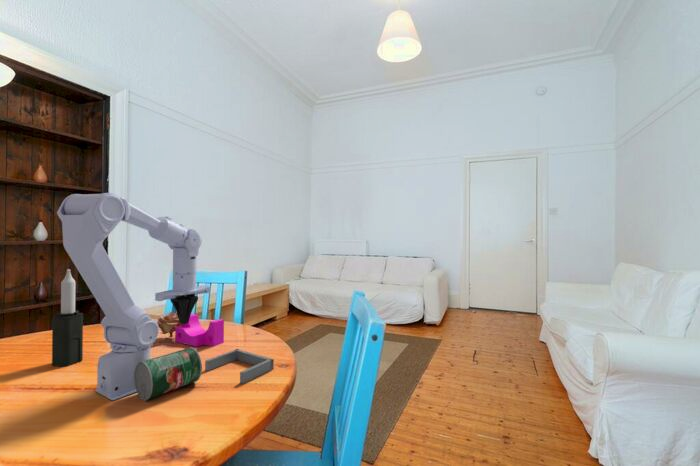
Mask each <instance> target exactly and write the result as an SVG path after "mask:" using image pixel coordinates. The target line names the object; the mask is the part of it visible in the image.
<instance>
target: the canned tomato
mask: <svg viewBox="0 0 700 466" xmlns="http://www.w3.org/2000/svg"><path fill="white" fill-rule="evenodd" d="M202 372H203V363H202V359H201V356H200V353H199V352H198V351H197V349H196V348H194V347H193V346H191V347H187V348H186V349H181V350H178V351H174V352H171V353H167V354H164V355H160V356H155V357H153V358H150V359H149V360H146V361H143V362H139V363H138V364H137V366H136V368H135V375H134V379H135V387H136V390H137V392H136V393H137V395H138V397H139V399H141V400H142V401H148V400H150V399H154V398H156V397H158V396H161V395H164V394H166V393H168V392H171V391H174V390H177V389H179V388H182V387H185V386H187V385H190V384H192V383H196V382H198V381H199V380H200V379H201V376H202Z"/></svg>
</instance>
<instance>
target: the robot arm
mask: <svg viewBox="0 0 700 466" xmlns="http://www.w3.org/2000/svg"><path fill="white" fill-rule="evenodd" d="M56 214H57V216H58V218H59V219H60V221H61V227H62V243H63V244H62V245H63V248H64V250H65V251H66V253H67V255H68V256H69V258H70V260H71V261H72V263H73V264H74V266H75V268H76V269H77V271H78V273H79V274H80V276H81V277H82V280H83V281H84V282H85V284H86V286H87V288H88V290H90V293H91V294H92V295H93V297H94V299H95V300H96V302H97V303H98V305H99V307H100V309H101V310H102V312H103V313H104V317H103V319H102V320H101V321H100V324H101V326H102V327H103V336H104V339H105V341H106V342H107V343H108V344H110V349H112V350H110V351H109V352H108V353H105V354H103V355H101V356H99V358H98V361H97V372H96V373H97V375H96V376H97V379H96V382H97V383H96V384H97V385H96V386H97V388H95V392H97V394H100V395H102V396H104V397H105V398H107V399H109V400H111V401H116V400H118V399H121V398H124V397H126V396H129V395H131V394H134V393H137V390H136V387H135V379H134V375H135V368H136V366H137V364H138V363H139V362H143V361H146V360H149V359H151V347H153V346H154V343H155V342H156V341H157V338H158V336H159V334H160V328H159V326H158V323H157V322H158V321H157V320H156V319H154V318H152V317H151V316H150V315H149V313H148V312H147V311H145V310H144V309H142V308H141V307H140V306H138V305H136V304H135V303H134V300H133V299H132V297H131V295H130V293H129V292H128V290H127V289H128V288H127V287H126V286H125V284H124V282H123V280H122V279H121V277H120V275H119V272H117V269H116V268H115V266H114V263H113V262H112V260H111V258H110V256H109V255H108V253H107V251H106V249H105V247H104V245H103V243H104V241H105V239H106V238H107V237H108V236H109V235H110V234H111V233H112V232H113V231H114V229H115V228H116V227H117V226H118V224H120V222H121V221H122V222H125V223H127V224H129V225H133V226H135V227H138V228H141V229H143V230H146V231H148V235H149V237H151V238H152V239H154V240H156V241H159V242H161V243H164V244H166V245H167V246H168V247H169V248H170V250H172V289H168V290H165V291H160V292H155V295H154V296H155V299H154V300H155V302H163V301H166V300H170V302H171V304H172V305H173V307H174V309H175V311H176V313H177V315H178V318H179V322H180V323H181V324H187V323H189V319H190V315H191V314H192V312H193V309H194V308H195V305H197V302H198V300H199V296H198V295H202V294H203V295H204V294H210V293H211V286H210V285H200V286H198V285H197V256H198V255H199V250H200V247H201V246H202V242H203V241H202V240H203V239H201V238H202V237H201V235H200V233H199V232H198V231H197V230H195V229H193V228H192V229H190V228H189V229H188V228H186V227H185V225H183V224H178V223H177V222H174V221H173V220H172V218H171V217H169V216H160V217H159V216H158V217H154V216H153V215H151V214H149V213H147V212H146V211H144V210H142V209H140V208H139V207H137V206H135V205H134V204H131V203H130V202H129V201H128V200H127V199H126V198H123V197H119V196H118V195H116V194H115V193H112V192H104V193H91V194H90V193H88V194H86V193H85V194H84V193H83V194H81V193H73V194H70V195H68V196H66V197H65V198H64V199H63V200H62V202H61V205H60V206H59V208H58V210H57V211H56Z"/></svg>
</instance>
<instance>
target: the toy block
mask: <svg viewBox="0 0 700 466" xmlns="http://www.w3.org/2000/svg"><path fill="white" fill-rule="evenodd" d="M201 324H202V323H200V319H199V315H198V314H194V313H191V315H190V319H189V323H187V324H183V325H182V326H181V327H176V328H175V331H174V333H175V335H174V336H175V341H174V342H176V343H180V344H185V345H188V346H191V347H196V348H197V347H200V346H203V345H205V346H207V347H208V346H209V347H210V346H212V347H216V346H218V345H222V344H224V342H225V340H224V339H225V319H221V318H219V319H215V320H211V321H209V324H208V328H207V329H206V328H204V327H203V326H202V325H201Z"/></svg>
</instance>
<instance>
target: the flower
mask: <svg viewBox="0 0 700 466" xmlns="http://www.w3.org/2000/svg"><path fill="white" fill-rule="evenodd" d="M158 316H159V315H158ZM156 322H157V323H158V326H159V331H161V332H160V334H163V335H166V334H169V338H172V337H173V334H174V333H175V328H176V327H181V326H182V325H183V324H181V323H180V322H179V318H178V315H177V312H176V313H174V312H173V311H170V312H167V313H166V314H165V315H160V316H159V317H158V319H157V321H156Z"/></svg>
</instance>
